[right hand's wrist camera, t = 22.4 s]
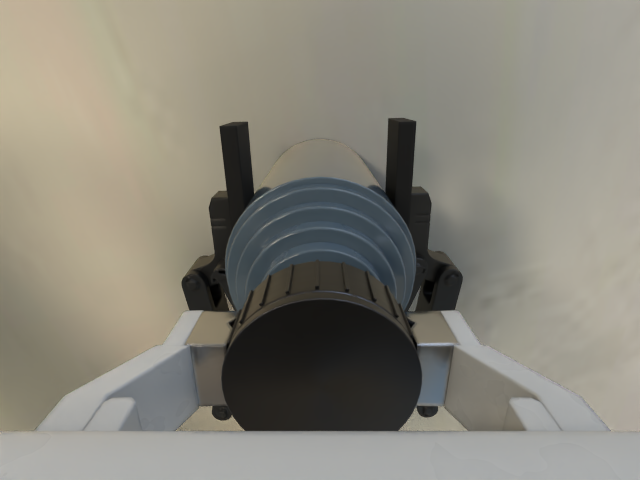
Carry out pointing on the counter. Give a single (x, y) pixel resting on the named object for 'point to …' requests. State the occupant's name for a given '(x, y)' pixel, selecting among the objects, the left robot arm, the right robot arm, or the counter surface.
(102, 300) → the counter surface
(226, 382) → the cap
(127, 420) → the right robot arm
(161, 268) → the counter surface
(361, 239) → the bottle
